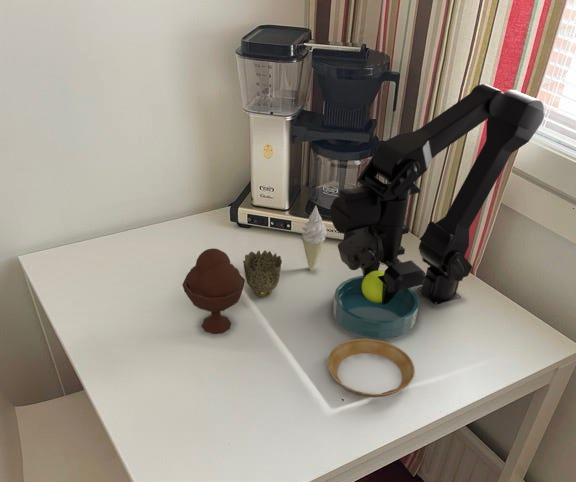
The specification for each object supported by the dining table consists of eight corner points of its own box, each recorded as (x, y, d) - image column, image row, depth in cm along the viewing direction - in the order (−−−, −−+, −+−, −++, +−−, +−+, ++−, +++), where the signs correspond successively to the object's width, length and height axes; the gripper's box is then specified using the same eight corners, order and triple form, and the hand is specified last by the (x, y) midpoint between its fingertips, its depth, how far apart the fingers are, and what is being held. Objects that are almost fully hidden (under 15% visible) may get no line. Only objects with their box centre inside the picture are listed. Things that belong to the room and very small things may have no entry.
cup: (276, 307, 119) (277, 272, 114) (239, 302, 120) (238, 267, 115) (284, 287, 125) (285, 252, 119) (249, 282, 126) (248, 247, 120)
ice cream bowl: (175, 325, 114) (166, 254, 104) (219, 301, 120) (215, 232, 110) (213, 351, 109) (208, 279, 99) (257, 324, 115) (257, 254, 105)
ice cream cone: (327, 269, 130) (333, 204, 120) (315, 280, 127) (320, 213, 117) (307, 262, 132) (311, 197, 122) (294, 273, 129) (297, 206, 119)
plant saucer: (365, 339, 113) (367, 327, 111) (429, 379, 105) (432, 367, 103) (308, 373, 105) (309, 362, 103) (373, 419, 97) (375, 407, 96)
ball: (380, 288, 119) (385, 261, 115) (397, 305, 115) (402, 277, 111) (354, 295, 117) (357, 268, 113) (370, 312, 113) (374, 284, 109)
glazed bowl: (386, 286, 126) (389, 268, 123) (431, 328, 116) (435, 310, 113) (318, 303, 121) (320, 285, 118) (359, 349, 110) (361, 331, 108)
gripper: (321, 204, 108) (315, 279, 119) (376, 254, 96) (364, 333, 106) (375, 193, 112) (365, 267, 122) (434, 241, 100) (418, 318, 110)
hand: (376, 295), depth 115 cm, fingers closed on ball, 6 cm apart
